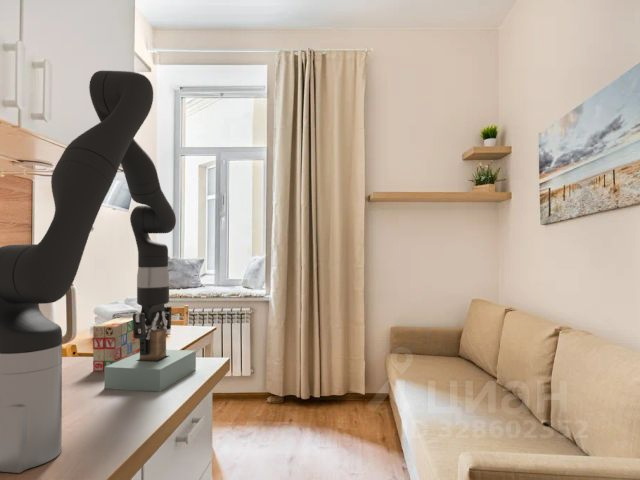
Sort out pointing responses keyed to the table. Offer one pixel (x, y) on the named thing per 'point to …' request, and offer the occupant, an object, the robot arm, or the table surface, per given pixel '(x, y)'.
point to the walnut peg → (156, 346)
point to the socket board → (149, 371)
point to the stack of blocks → (113, 342)
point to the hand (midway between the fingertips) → (153, 351)
